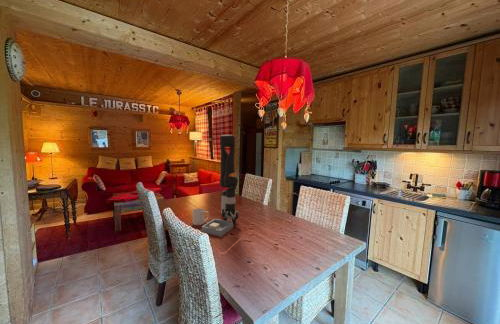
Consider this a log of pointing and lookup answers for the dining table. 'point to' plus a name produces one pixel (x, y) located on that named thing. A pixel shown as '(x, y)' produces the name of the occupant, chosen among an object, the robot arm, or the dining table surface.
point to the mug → (199, 216)
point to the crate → (223, 227)
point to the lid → (214, 224)
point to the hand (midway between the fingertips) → (230, 223)
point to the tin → (230, 218)
